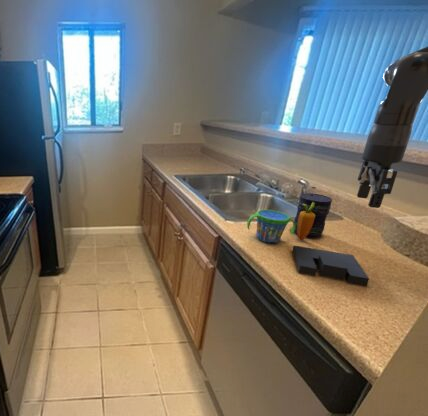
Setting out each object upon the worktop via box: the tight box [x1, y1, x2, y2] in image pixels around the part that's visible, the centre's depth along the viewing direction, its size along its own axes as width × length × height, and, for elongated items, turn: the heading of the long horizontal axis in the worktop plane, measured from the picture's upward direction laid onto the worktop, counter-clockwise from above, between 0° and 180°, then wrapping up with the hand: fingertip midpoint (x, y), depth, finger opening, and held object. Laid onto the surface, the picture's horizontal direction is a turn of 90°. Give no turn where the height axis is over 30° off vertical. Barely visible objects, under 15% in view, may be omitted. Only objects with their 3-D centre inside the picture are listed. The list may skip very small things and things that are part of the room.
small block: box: [316, 256, 348, 281], centre depth 82 cm, size 6×6×4 cm
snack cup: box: [246, 209, 296, 244], centre depth 102 cm, size 16×10×10 cm
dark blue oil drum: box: [293, 186, 333, 240], centre depth 105 cm, size 10×10×18 cm
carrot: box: [297, 202, 315, 241], centre depth 100 cm, size 5×5×15 cm
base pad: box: [291, 245, 370, 287], centre depth 86 cm, size 16×14×2 cm
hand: (367, 202), depth 76 cm, fingers open, 8 cm apart
